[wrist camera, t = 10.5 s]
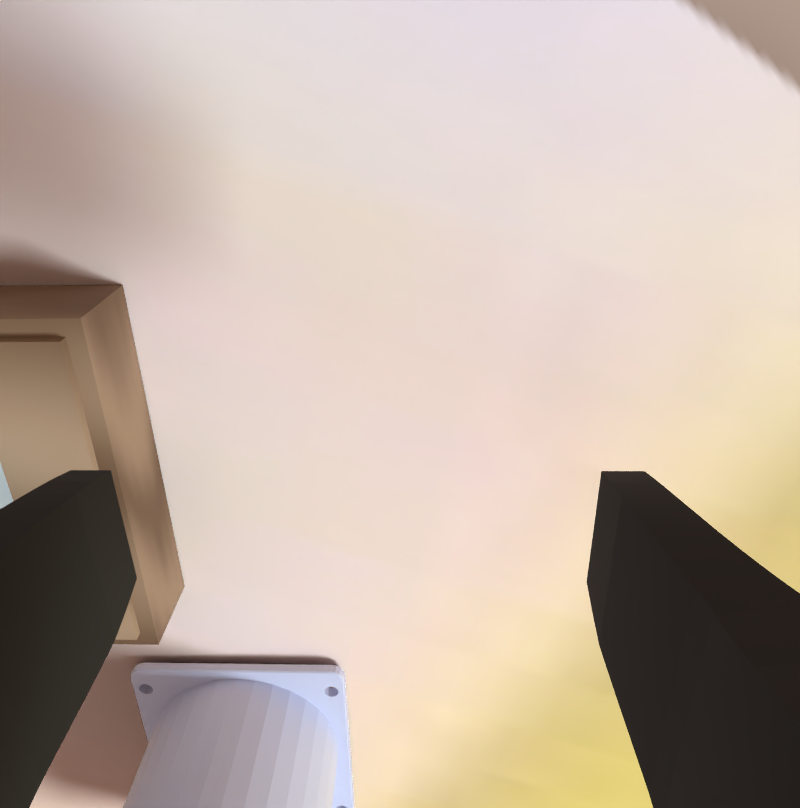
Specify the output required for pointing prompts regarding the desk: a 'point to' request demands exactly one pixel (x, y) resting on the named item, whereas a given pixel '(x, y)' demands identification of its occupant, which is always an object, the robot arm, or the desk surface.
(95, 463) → the walnut base
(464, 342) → the desk surface
